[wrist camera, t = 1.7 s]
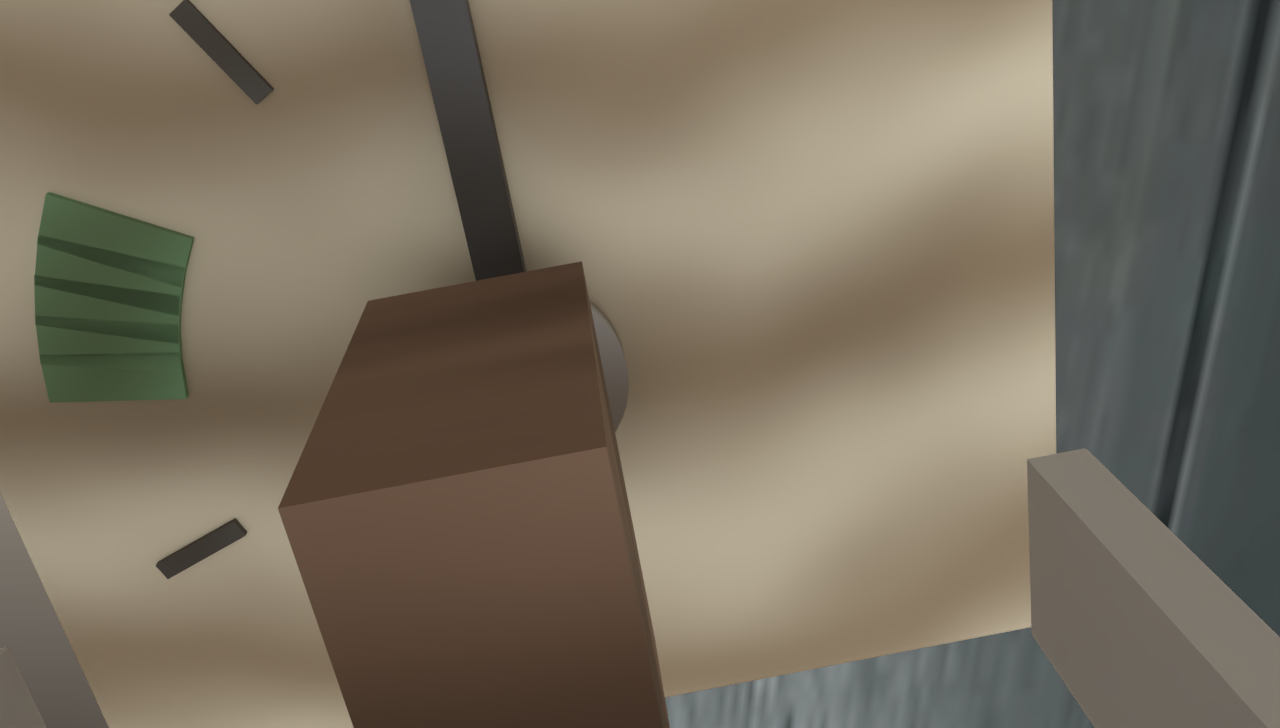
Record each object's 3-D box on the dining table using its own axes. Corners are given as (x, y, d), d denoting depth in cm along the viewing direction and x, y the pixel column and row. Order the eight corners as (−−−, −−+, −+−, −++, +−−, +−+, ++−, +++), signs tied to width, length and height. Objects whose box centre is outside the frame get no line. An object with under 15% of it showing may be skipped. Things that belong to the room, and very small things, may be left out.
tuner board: (-157, -8, 20) (-234, 0, 18) (1003, -214, 20) (1054, -228, 18) (168, 737, 27) (139, 803, 25) (1022, 574, 27) (1060, 626, 25)
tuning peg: (304, -62, 18) (36, -33, 8) (539, -104, 18) (546, -125, 8) (465, 540, 23) (415, 1004, 13) (652, 505, 23) (737, 941, 13)
